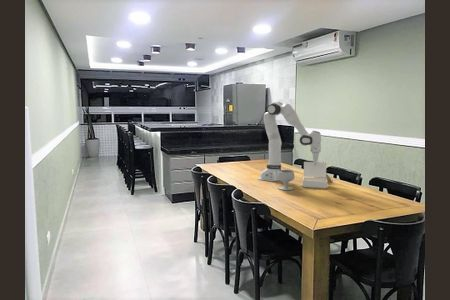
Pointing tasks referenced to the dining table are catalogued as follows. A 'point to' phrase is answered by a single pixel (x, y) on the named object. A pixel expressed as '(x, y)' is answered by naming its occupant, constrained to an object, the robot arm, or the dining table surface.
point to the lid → (314, 169)
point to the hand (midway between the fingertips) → (315, 165)
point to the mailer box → (315, 182)
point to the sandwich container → (325, 177)
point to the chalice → (285, 178)
